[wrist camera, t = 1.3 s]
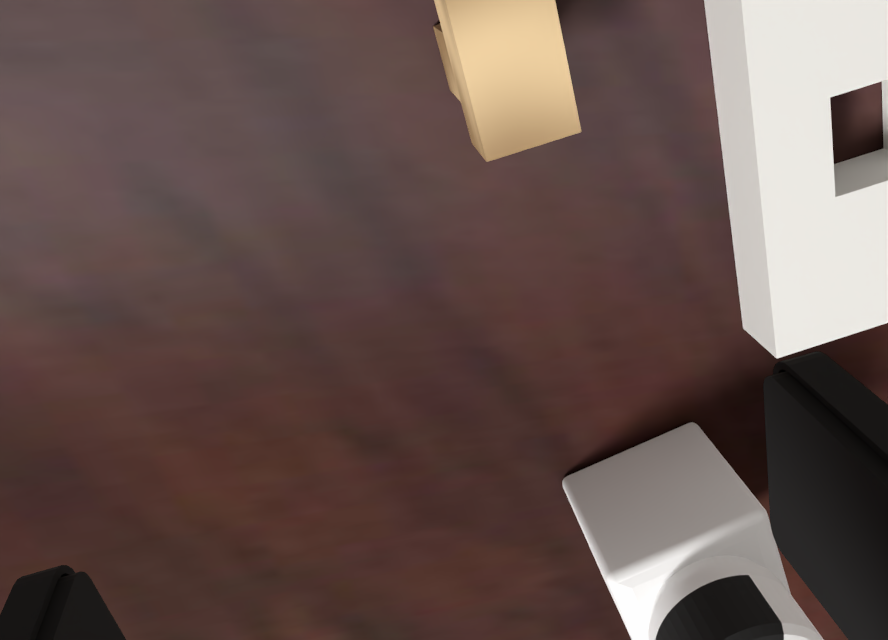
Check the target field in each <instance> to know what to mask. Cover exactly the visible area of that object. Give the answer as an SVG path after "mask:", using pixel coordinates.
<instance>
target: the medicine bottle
mask: <svg viewBox="0 0 888 640" xmlns="http://www.w3.org/2000/svg"><path fill="white" fill-rule="evenodd" d="M562 483H563V488H564V490H565V493H566V495H567V497H568V499H569V502H570V504H571V506H572V508H573V511H574V513H575V515H576V517H577V520H578V522H579V524H580V526H581V529H582V531H583V533H584V536H585V538H586V540H587V542H588V545H589V547H590V549H591V551H592V554H593V556H594V558H595V560H596V563H597V565H598V567H599V569H600V572H601V574H602V576H603V578H604V580H605V583H606V585H607V587H608V589H609V591H610V594H611V596H612V598H613V600H614V602H615V604H616V607H617V609H618V611H619V613H620V615H621V617H622V620H623V622H624V624H625V626H626V628H627V630H628V633H629V635H630V637H631V639H632V640H824V639H823V638H822V637H821V635H820V634H819V633H818V631H817V630H816V628H815V627H814V626H813V624H812V623H811V622H810V620H809V619H808V618H807V616H806V615H805V613H804V612H803V611H802V609H801V608H800V607H799V605H798V604H797V603H796V601H795V600H794V598H793V597H792V596H791V593H790V590H789V586H788V583H787V580H786V576H785V573H784V569H783V566H782V562H781V559H780V556H779V552H778V549H777V545H776V542H775V539H774V537H773V533H772V530H771V525H770V521H769V518H768V515H767V512H766V510H765V509H764V507H763V506H762V505H761V504H760V502H759V501H758V500H757V499H756V497H755V496H754V495H753V494H752V492H751V491H750V490H749V489H748V487H747V486H746V485H745V484H744V482H743V481H742V480H741V479H740V477H739V476H738V475H737V474H736V472H735V471H734V470H733V469H732V467H731V466H730V465H729V464H728V462H727V461H726V460H725V459H724V457H723V456H722V455H721V454H720V452H719V451H718V450H717V448H716V447H715V446H714V445H713V443H712V442H711V441H710V440H709V438H708V437H707V436H706V435H705V433H704V432H703V431H702V430H701V428H700V427H699V426H698V425H697V424H696V423H693V422H691V423H687V424H685V425H683V426H680V427H678V428H676V429H674V430H671V431H669V432H667V433H664V434H662V435H660V436H658V437H655V438H653V439H651V440H648V441H646V442H644V443H642V444H639V445H637V446H635V447H632V448H630V449H628V450H626V451H623V452H621V453H619V454H616V455H614V456H612V457H610V458H607V459H605V460H603V461H600V462H598V463H596V464H594V465H591V466H589V467H587V468H584V469H582V470H580V471H578V472H575V473H573V474H571V475H568V476H566V477H565V478H564V479H563V481H562Z"/></svg>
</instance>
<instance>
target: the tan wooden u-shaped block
mask: <svg viewBox="0 0 888 640" xmlns="http://www.w3.org/2000/svg"><path fill="white" fill-rule="evenodd" d="M434 1H435V5H436V9H437V13H438V17H439V20H440V24H438V25H435V26H433V28H434V31H435V35H436V39H437V43H438V46H439V50H440V54H441V57H442V61H443V65H444V69H445V72H446V76H447V80H448V84H449V87H450V91H451V92H452V93H453V94H454V95H455V96H456V97H457V98H458V99H459V100H460V101H461V104H462V108H463V111H464V115H465V119H466V123H467V127H468V130H469V134H470V138H471V142H472V144H473V145H474V146H475V148H476V149H477V150H478V151H479V153H480V154H481V155H482V157H483V158H484V159H485V160H486V162H488V161H491V160H495V159H498V158H501V157H504V156H507V155H510V154H513V153H517V152H520V151H523V150H526V149H529V148H532V147H535V146H539V145H542V144H545V143H548V142H551V141H554V140H558V139H561V138H564V137H567V136H570V135H573V134H576V133H580V132H581V128H580V123H579V118H578V112H577V107H576V102H575V97H574V92H573V87H572V82H571V77H570V72H569V67H568V62H567V57H566V52H565V47H564V42H563V37H562V32H561V27H560V22H559V17H558V12H557V7H556V2H555V0H434Z"/></svg>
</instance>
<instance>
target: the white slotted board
mask: <svg viewBox="0 0 888 640" xmlns="http://www.w3.org/2000/svg"><path fill="white" fill-rule="evenodd" d="M704 4H705V12H706V21H707V29H708V37H709V46H710V54H711V63H712V71H713V79H714V88H715V96H716V105H717V113H718V121H719V130H720V138H721V147H722V155H723V163H724V172H725V180H726V189H727V197H728V206H729V214H730V222H731V231H732V239H733V248H734V256H735V264H736V273H737V281H738V290H739V298H740V306H741V315H742V323H743V329H744V330H746V331H747V332H748V333H749V334H750V335H751V336H752V337H753V338H754V339H756V340H757V341H758V342H759V343H760V344H761V345H762V346H763V347H764V348H765V349H767V350H768V351H769V352H770V353H771V354H772V355H773V356H774V357H775V358H780V357H783V356H787V355H790V354H793V353H796V352H799V351H802V350H805V349H808V348H811V347H814V346H817V345H821V344H824V343H827V342H830V341H833V340H836V339H839V338H842V337H845V336H848V335H851V334H855V333H858V332H861V331H864V330H867V329H870V328H873V327H876V326H879V325H882V324H886V323H888V0H704ZM881 81H882V109H883V149H880V150H877V151H874V152H871V153H868V154H864V155H861V156H858V157H855V158H852V159H849V160H846V161H842V162H839V163H836V164H834V160H833V142H832V123H831V105H830V97H834V96H837V95H840V94H843V93H846V92H849V91H852V90H855V89H859V88H862V87H865V86H868V85H871V84H874V83H877V82H881Z"/></svg>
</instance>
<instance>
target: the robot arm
mask: <svg viewBox="0 0 888 640" xmlns="http://www.w3.org/2000/svg"><path fill="white" fill-rule="evenodd" d="M763 389H764V408H765V427H766V447H767V466H768V485H769V504H770V523H771V530H772V533H773V537H774V539H775V542H776V544H777V546H778V548H779V549H780V551H781V552H782V554H783V555H784V556H785V558H786V559H787V560H788V561H789V563H790V564H791V565H792V567H793V568H794V569H795V571H796V572H797V573H798V574H799V576H800V577H801V578H802V580H803V581H804V582H805V584H806V585H807V586H808V587H809V589H810V590H811V591H812V593H813V594H814V595H815V597H816V598H817V599H818V600H819V602H820V603H821V604H822V606H823V607H824V608H825V610H826V611H827V612H828V614H829V615H830V616H831V617H832V619H833V620H834V621H835V623H836V624H837V625H838V627H839V628H840V629H841V630H842V632H843V633H844V634H845V636H846V637H847V638H848V640H888V405H887V404H886V403H885V402H884V401H882V400H881V399H880V398H879V397H877V396H876V395H875V394H874V393H873V392H871V391H870V390H869V389H868V388H866V387H865V386H864V385H863V384H861V383H860V382H859V381H858V380H856V379H855V378H854V377H853V376H852V375H850V374H849V373H848V372H847V371H845V370H844V369H843V368H842V367H840V366H839V365H838V364H837V363H836V362H834V361H833V360H832V359H831V358H829V357H828V356H827V355H825V354H824V353H822V352H812V353H809V354H805V355H802V356H798V357H795V358H791V359H788V360H784V361H781V362H778V363H777V364H775V367H774V369H773V375H771V376H767V377H766V378H765V380H764V386H763ZM0 640H126V639H125V637H124V635H123V634H122V632H121V630H120V628H119V627H118V625H117V623H116V622H115V620H114V618H113V616H112V615H111V613H110V611H109V610H108V608H107V606H106V604H105V603H104V601H103V599H102V597H101V596H100V594H99V592H98V591H97V589H96V587H95V585H94V584H93V582H92V580H91V579H90V577H89V576H88V575H87V574H86V573H85V572H78V573H75V572H74V571H73V569H72V568H70V567H69V566H67V565H61V566H58V567H54V568H51V569H47V570H44V571H40V572H37V573H33V574H30V575H26V576H23V577H21V578H19V579H18V580H17V581H16V582H15V584H14V585H13V588H12V590H11V592H10V594H9V597H8V599H7V601H6V603H5V606H4V608H3V610H2V612H1V615H0Z"/></svg>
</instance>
